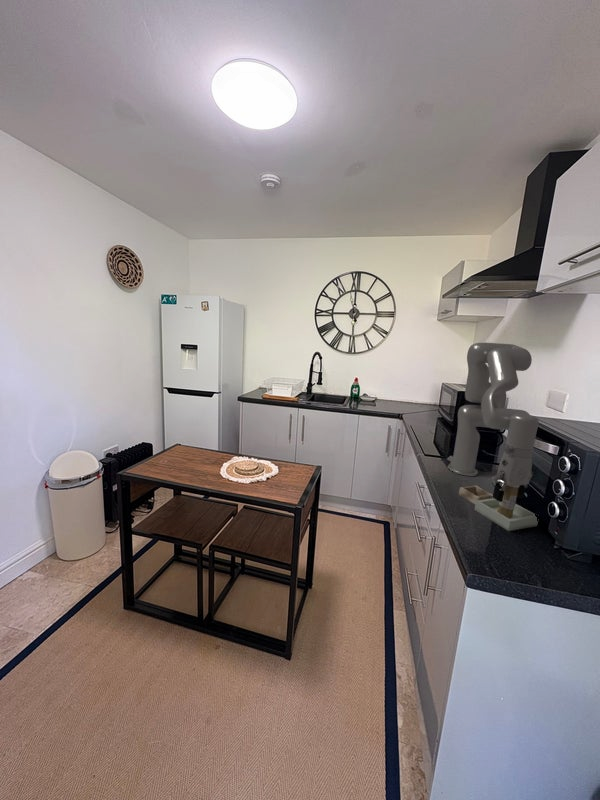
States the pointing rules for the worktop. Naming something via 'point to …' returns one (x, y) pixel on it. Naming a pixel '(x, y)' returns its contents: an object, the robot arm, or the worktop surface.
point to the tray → (518, 520)
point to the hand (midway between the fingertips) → (508, 498)
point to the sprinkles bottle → (508, 501)
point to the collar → (471, 490)
